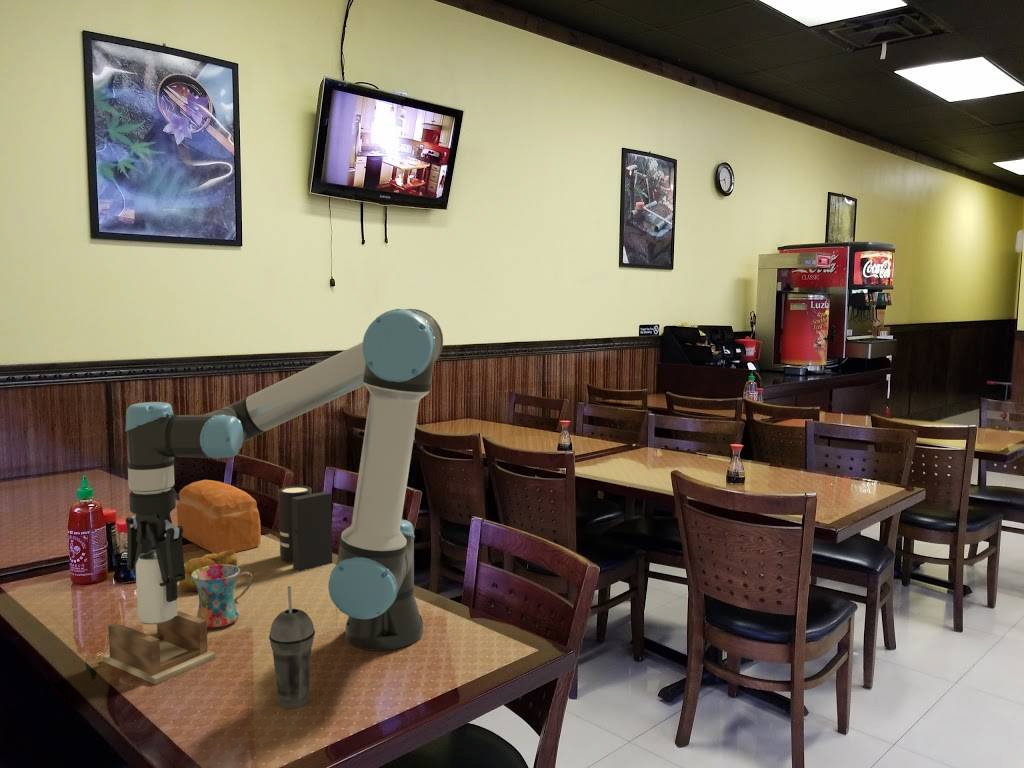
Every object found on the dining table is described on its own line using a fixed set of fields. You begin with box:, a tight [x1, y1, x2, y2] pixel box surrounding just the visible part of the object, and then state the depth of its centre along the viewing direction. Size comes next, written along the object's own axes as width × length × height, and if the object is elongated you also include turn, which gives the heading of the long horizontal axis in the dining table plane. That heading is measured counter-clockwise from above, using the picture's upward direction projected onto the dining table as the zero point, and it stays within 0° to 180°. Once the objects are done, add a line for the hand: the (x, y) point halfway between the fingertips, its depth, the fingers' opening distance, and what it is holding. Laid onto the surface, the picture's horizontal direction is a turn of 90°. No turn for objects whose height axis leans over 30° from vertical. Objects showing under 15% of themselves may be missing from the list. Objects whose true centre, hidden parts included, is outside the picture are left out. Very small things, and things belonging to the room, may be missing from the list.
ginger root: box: [178, 550, 238, 592], centre depth 182 cm, size 13×10×8 cm
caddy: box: [102, 610, 216, 685], centre depth 144 cm, size 16×12×7 cm
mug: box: [191, 564, 254, 629], centre depth 162 cm, size 12×9×11 cm
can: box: [135, 549, 174, 625], centre depth 143 cm, size 6×6×12 cm
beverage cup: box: [268, 585, 316, 709], centre depth 129 cm, size 7×7×20 cm
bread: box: [176, 479, 262, 554], centre depth 214 cm, size 14×26×16 cm, turn 44°
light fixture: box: [278, 485, 333, 572], centre depth 199 cm, size 10×14×18 cm
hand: (157, 613), depth 144 cm, fingers closed on can, 6 cm apart
